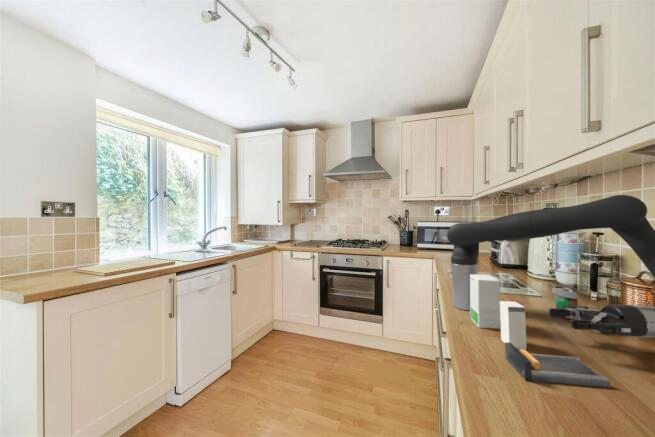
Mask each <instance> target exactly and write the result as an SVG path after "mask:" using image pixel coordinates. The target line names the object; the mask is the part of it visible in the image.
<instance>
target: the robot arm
mask: <svg viewBox="0 0 655 437" xmlns="http://www.w3.org/2000/svg"><path fill="white" fill-rule="evenodd" d="M647 214H648V207H647V205H646V204H645V202H644V201H642V200H641V199H640V198H638V197H635V196H632V195H629V194H628V195H627V194H617V195H612V196H608V197H605V198H602V199H597V200H595V201H594V200H593V201H589V202H585V203H582V204H581V203H579V204H576V205H572V206H564V207H563V206H562V207H551V208H541V209H535V210H527V211H521V212H515V213H512V214H511V213H510V214H508V215H503V216H500V217H497V218H492V219H489V220H485V221H484V220H483V221H478V222H477V221H476V222H462V223H460V222H459V223H458V222H457V223H455V224H453V225H452V226H450V227H449V229H448V230H447V233H446V238H447V240H448V242H449V243H451V244H452V246H453V251H452V254H451V256H450V262H451V263H450V265H451V267H450V268H451V290H452V291H451V295H452V296H451V297H452V306H453V307H454V308H456V309H459V310H463V311H464V310H465V311H470V274H475V275H479V272H478V258H479V252H480V251H479V248H480V247H479V246H480V245H479V244H480V243H484V242H493V241H494V242H497V241H498V242H501V241H502V242H505V241H520V240H521V241H522V240H529V239H536V238H537V239H538V238H539V239H540V238H545V237H551V236H556V235H560V234H566V233H569V232H574V231H582V230H595V229H611V230H612V231H613V232H614V233H615V234H616V235H618V236H619V238H621V239H622V240H623V241H624V242H625V243H626V244H627V245H628V246H629V247H630V248H631V250H633V252H634V253H635V254H636V256H637V257H638V258H639V259H640V261H641V262H642V264H643V265H644V266H645V267H646V268H647V270H648V271H649V273H650V274H651V275H652V277H653V278H655V229H654V228H653V226H652V224H650V221H649V220H648V219H647ZM589 308H590V307H588V306H581V305H580V306H562V309H558V308H556V307H554V308H549V309H548V310H549V311H548V312H549V314H548V315H549V316H550V317H551V318H552V317H553V318H560V317H567V318H573V319H572V320H571V321H570V328H572V329H573V330H581V331H582V330H584V331H586V330H589V331H592V332H595V333H596V332H599V333H600V335H603V336H619V337H635V338H636V337H637V338H638V337H639V338H655V306H651V305H641V304H640V305H639V304H606V305H604V306H603V308H602V309H601V310H599V309H594V308H590V309H589ZM570 311H572V313H570ZM581 317H582V318H581Z"/></svg>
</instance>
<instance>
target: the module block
mask: <svg viewBox="0 0 655 437" xmlns="http://www.w3.org/2000/svg"><path fill="white" fill-rule="evenodd" d="M526 326H527V325H526V307H525V306H524V305H522V304H520V303H518V302H517V301H509V300H506V301H503V300H500V340H501V341H502V342H503V343H504V344H505V342H509V343H511V344H513V345H514V346H515V347H516V348H517V349H518V350H520V349H525V350H527V327H526Z"/></svg>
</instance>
